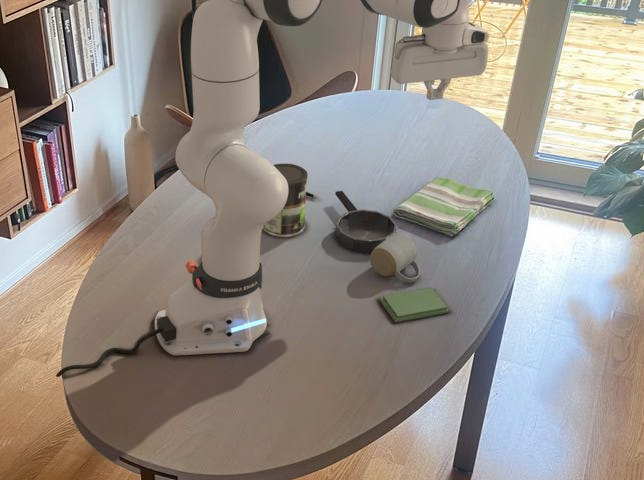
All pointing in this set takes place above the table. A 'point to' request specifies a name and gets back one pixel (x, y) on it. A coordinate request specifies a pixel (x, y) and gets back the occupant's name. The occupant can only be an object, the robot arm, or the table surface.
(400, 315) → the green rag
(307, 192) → the fountain pen
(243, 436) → the table surface
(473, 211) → the dish towel
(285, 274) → the table surface
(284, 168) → the coffee can
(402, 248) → the ceramic mug
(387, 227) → the steel pan
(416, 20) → the robot arm
